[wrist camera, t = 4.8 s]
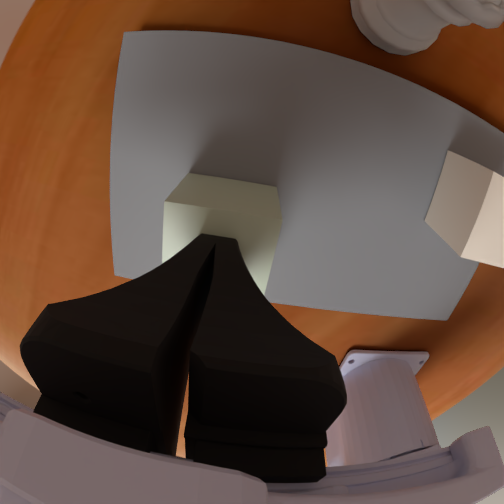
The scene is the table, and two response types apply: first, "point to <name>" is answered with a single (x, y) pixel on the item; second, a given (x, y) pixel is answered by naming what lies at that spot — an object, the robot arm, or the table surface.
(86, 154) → the table surface
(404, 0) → the rook chess piece
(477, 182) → the cream matte cube
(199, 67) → the panel
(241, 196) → the pale green cube
